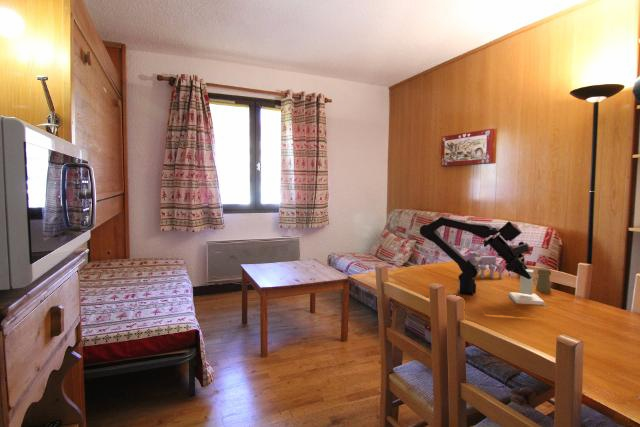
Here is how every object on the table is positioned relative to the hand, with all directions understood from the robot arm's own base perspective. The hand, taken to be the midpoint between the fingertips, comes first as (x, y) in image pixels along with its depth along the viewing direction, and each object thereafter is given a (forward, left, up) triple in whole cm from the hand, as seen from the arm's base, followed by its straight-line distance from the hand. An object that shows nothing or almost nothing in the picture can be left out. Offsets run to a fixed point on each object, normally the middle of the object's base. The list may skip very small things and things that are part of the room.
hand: (530, 277), depth 144 cm
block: (-1, 0, -7) cm, 7 cm away
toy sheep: (-11, +40, -11) cm, 43 cm away
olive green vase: (+11, +16, -11) cm, 22 cm away
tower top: (-1, 0, -10) cm, 10 cm away
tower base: (-1, 0, -11) cm, 11 cm away
